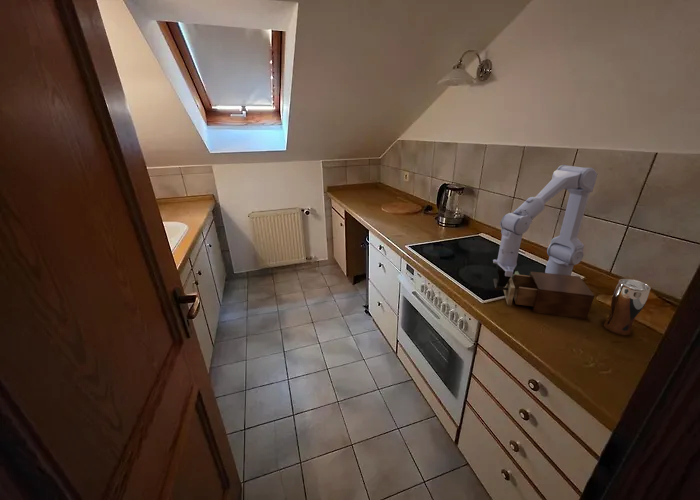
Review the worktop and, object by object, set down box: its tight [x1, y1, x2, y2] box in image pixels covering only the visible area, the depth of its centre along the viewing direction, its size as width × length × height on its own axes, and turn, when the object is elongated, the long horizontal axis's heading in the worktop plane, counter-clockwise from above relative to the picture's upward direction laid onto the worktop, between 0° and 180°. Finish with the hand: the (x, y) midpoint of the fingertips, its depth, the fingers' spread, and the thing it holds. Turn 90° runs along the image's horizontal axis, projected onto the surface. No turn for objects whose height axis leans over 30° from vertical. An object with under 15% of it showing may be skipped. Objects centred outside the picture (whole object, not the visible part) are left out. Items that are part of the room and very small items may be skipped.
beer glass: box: [603, 278, 652, 336], centre depth 85 cm, size 7×7×15 cm
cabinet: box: [529, 271, 595, 320], centre depth 98 cm, size 15×13×9 cm
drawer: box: [492, 273, 538, 307], centre depth 101 cm, size 18×11×7 cm, turn 72°
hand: (501, 285), depth 103 cm, fingers closed, pressing on drawer
